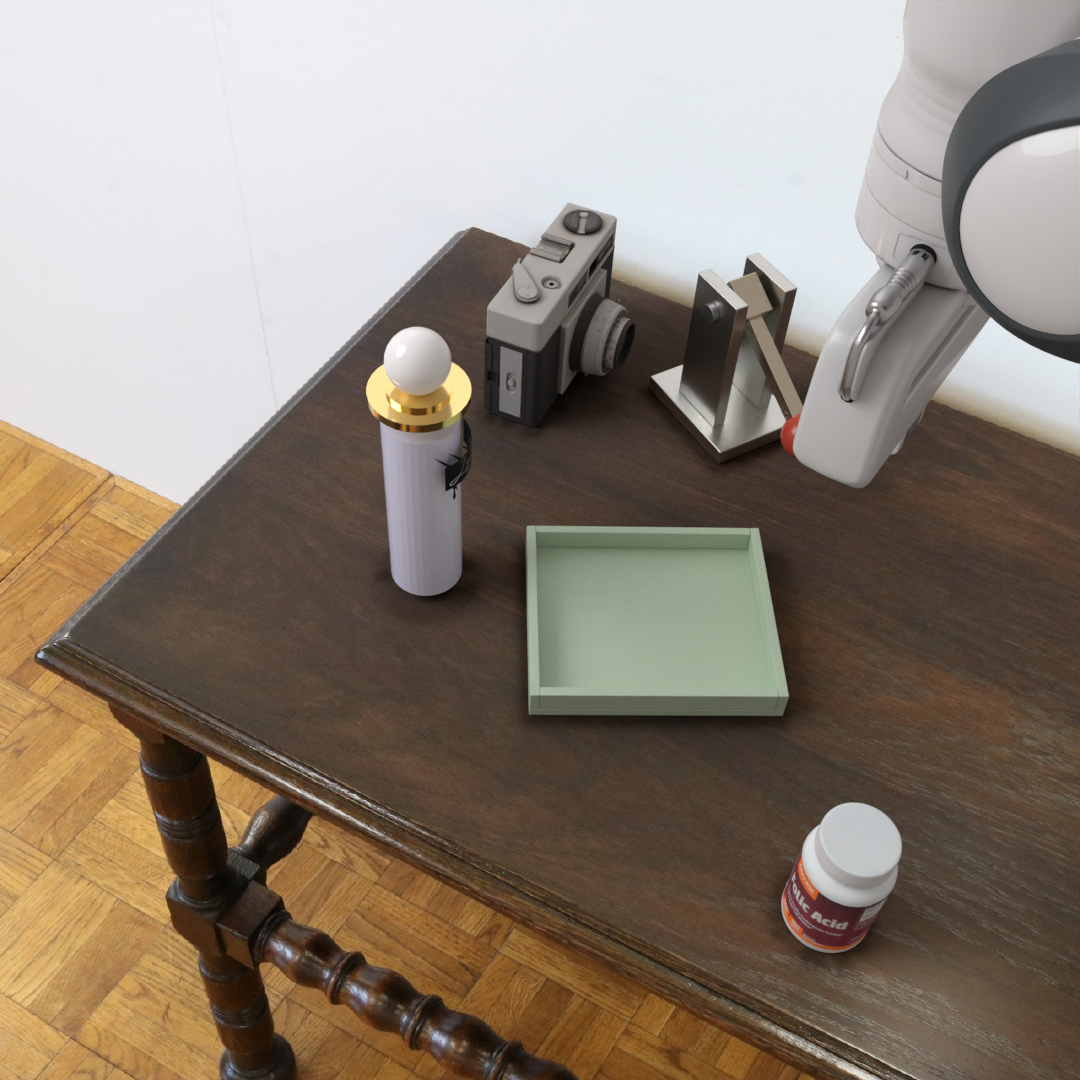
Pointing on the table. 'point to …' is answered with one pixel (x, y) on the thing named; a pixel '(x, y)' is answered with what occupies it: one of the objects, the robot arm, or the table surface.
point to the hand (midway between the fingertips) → (891, 434)
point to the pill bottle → (842, 877)
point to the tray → (651, 622)
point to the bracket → (727, 366)
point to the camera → (555, 318)
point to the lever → (769, 354)
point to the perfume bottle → (422, 457)
